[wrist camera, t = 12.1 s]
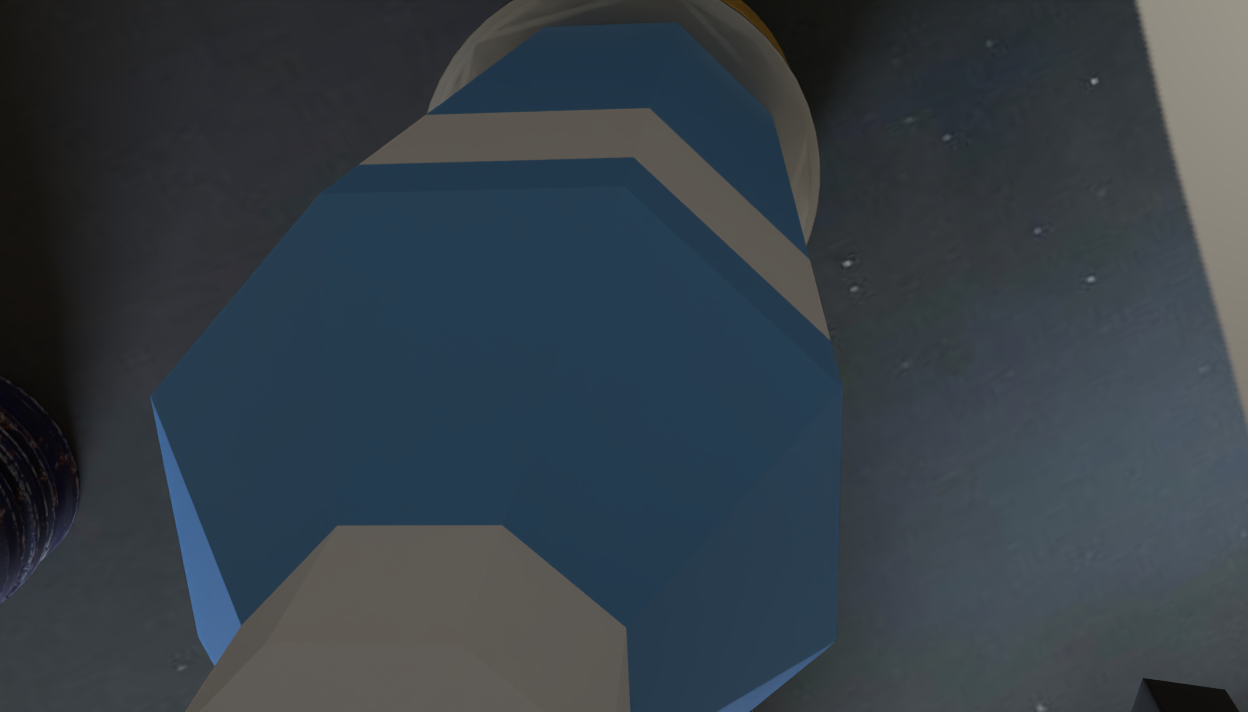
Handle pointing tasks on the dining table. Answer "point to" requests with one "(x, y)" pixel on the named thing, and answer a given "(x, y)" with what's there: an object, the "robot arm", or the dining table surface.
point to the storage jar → (31, 486)
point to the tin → (714, 20)
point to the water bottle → (523, 410)
